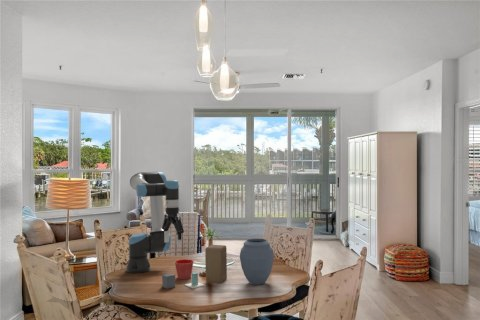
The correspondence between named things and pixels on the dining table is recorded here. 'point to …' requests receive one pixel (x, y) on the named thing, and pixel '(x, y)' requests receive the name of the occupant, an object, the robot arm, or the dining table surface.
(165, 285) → the grey rectangular block
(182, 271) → the flower pot
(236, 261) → the dining table surface
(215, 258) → the wooden block
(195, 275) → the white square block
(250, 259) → the vase
